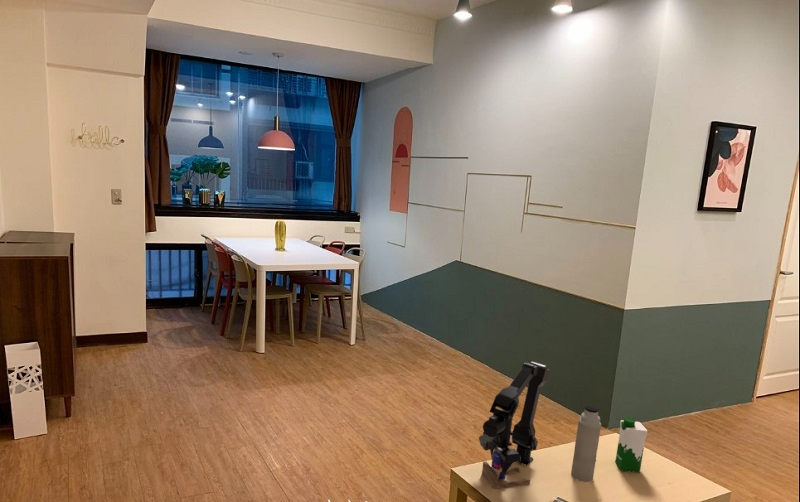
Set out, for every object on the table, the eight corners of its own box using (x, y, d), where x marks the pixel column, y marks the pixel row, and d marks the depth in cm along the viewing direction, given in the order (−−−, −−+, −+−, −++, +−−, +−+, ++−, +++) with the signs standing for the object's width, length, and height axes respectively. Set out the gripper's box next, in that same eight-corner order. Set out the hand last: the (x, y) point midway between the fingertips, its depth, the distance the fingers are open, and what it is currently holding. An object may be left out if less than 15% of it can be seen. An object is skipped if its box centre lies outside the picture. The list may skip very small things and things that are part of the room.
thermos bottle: (591, 472, 206) (601, 404, 202) (594, 484, 198) (605, 413, 194) (569, 468, 208) (579, 401, 203) (572, 480, 200) (582, 410, 196)
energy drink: (493, 484, 193) (497, 453, 191) (487, 476, 198) (491, 446, 196) (507, 483, 194) (510, 452, 192) (500, 475, 199) (504, 445, 197)
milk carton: (612, 460, 217) (619, 414, 214) (634, 462, 217) (641, 416, 213) (620, 472, 208) (628, 424, 205) (643, 474, 208) (651, 426, 205)
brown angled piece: (517, 470, 204) (518, 458, 203) (530, 484, 195) (531, 471, 194) (481, 473, 199) (483, 461, 198) (493, 488, 190) (494, 475, 189)
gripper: (472, 416, 199) (467, 455, 201) (495, 442, 181) (490, 484, 184) (498, 414, 202) (494, 452, 205) (524, 439, 185) (518, 480, 187)
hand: (498, 467), depth 195 cm, fingers open, 8 cm apart
